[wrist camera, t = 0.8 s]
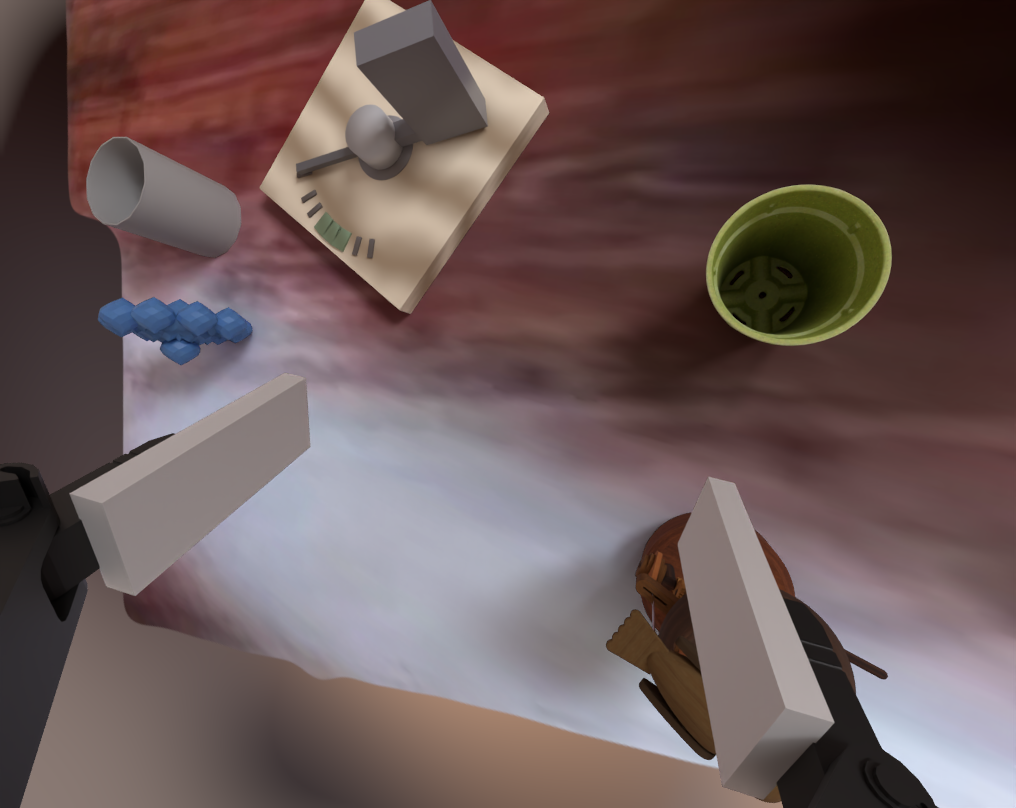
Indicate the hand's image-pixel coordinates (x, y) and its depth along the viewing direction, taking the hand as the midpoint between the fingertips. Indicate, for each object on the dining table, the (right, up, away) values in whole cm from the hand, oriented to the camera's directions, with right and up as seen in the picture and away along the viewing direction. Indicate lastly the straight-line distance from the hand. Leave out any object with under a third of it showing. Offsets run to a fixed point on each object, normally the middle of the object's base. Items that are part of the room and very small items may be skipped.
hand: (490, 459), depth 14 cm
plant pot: (+20, +10, +20) cm, 30 cm away
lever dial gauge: (-11, +26, +27) cm, 39 cm away
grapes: (-31, +9, +37) cm, 49 cm away
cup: (-34, +23, +37) cm, 55 cm away
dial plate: (-10, +26, +29) cm, 41 cm away
